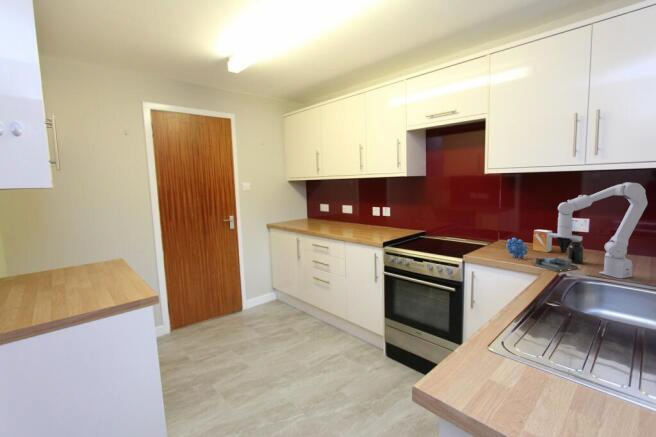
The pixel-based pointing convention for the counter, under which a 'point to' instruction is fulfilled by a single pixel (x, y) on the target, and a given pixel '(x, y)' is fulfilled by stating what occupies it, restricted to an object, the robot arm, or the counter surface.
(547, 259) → the blue-grey rectangular block
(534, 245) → the small box
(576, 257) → the supplement bottle
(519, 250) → the grapes
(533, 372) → the counter surface
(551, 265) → the heatsink base
